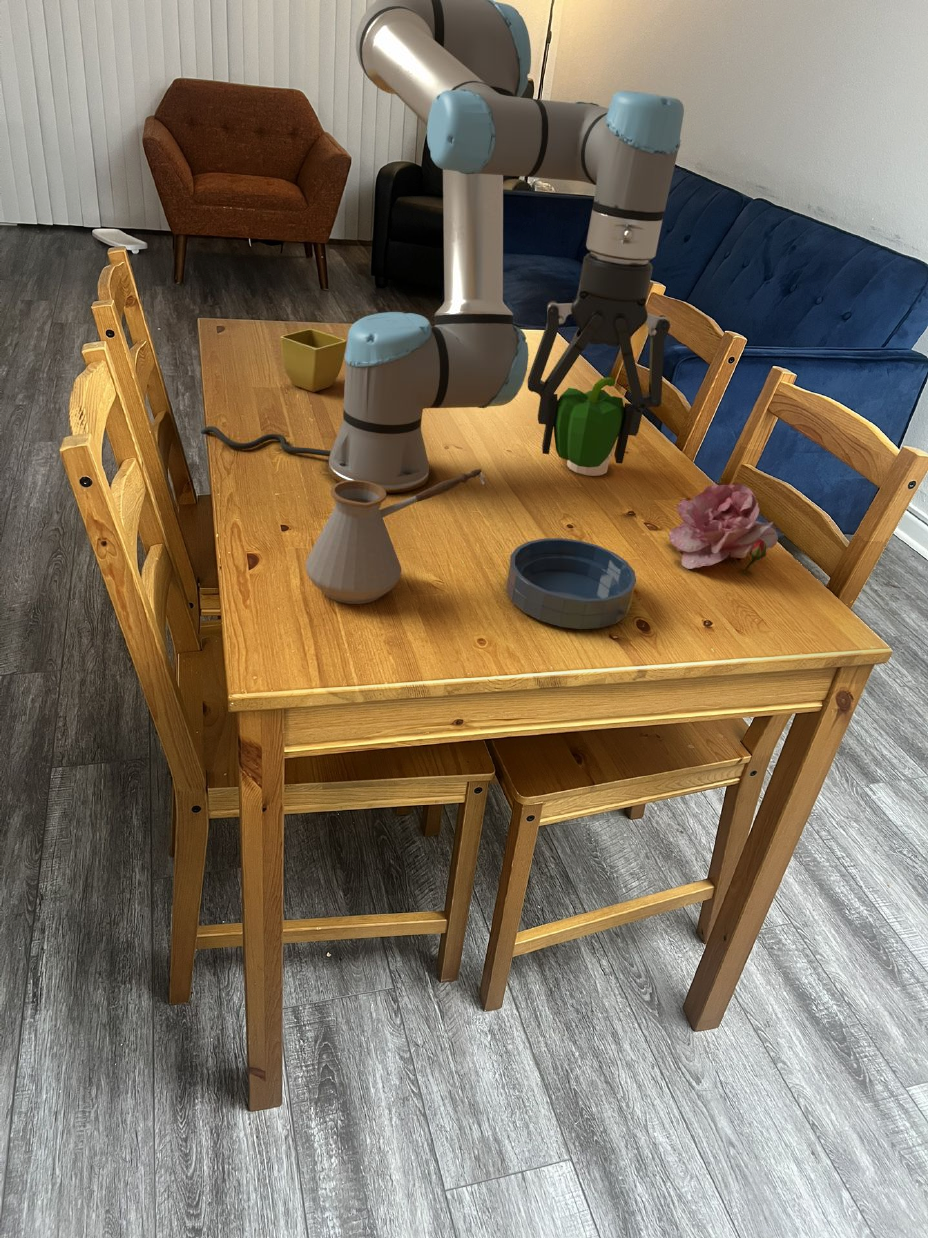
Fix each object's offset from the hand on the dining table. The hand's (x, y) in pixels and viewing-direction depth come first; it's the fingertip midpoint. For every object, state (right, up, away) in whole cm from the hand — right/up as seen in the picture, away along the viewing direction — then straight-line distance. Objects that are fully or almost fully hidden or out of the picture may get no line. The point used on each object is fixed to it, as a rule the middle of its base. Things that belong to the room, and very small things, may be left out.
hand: (581, 454), depth 113 cm
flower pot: (-42, +23, +61) cm, 78 cm away
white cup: (+6, +5, +43) cm, 43 cm away
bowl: (-1, -17, +5) cm, 18 cm away
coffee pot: (-23, -16, +3) cm, 28 cm away
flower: (+22, -11, +20) cm, 32 cm away
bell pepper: (0, -1, +1) cm, 1 cm away
